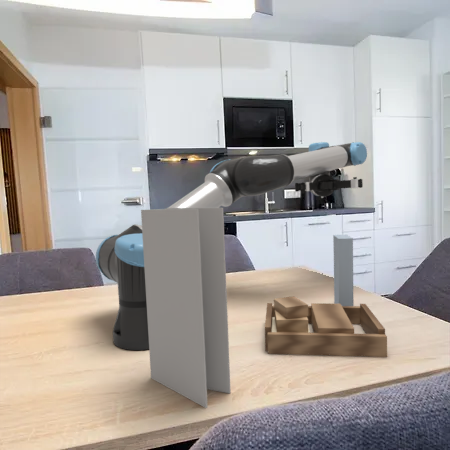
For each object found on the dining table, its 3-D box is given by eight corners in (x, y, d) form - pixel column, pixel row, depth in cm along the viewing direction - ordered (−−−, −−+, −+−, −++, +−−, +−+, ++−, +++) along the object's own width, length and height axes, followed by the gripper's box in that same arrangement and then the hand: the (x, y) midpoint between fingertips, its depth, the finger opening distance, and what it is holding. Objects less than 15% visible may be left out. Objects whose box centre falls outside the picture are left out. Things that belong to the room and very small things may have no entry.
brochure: (231, 392, 58) (223, 207, 55) (206, 408, 54) (197, 209, 51) (175, 366, 68) (166, 208, 65) (151, 378, 64) (140, 209, 61)
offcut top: (286, 319, 75) (286, 307, 75) (274, 309, 82) (273, 298, 82) (308, 316, 76) (308, 304, 76) (294, 306, 83) (294, 296, 83)
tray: (265, 353, 71) (264, 329, 71) (268, 321, 90) (267, 301, 89) (387, 357, 68) (387, 331, 68) (364, 322, 86) (364, 302, 86)
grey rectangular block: (339, 316, 91) (338, 238, 89) (334, 307, 99) (333, 234, 97) (353, 317, 90) (352, 238, 88) (347, 307, 98) (346, 234, 96)
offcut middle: (276, 333, 75) (276, 319, 75) (274, 319, 84) (274, 306, 84) (308, 333, 75) (308, 319, 74) (302, 318, 83) (302, 306, 83)
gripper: (360, 194, 123) (377, 195, 102) (287, 198, 126) (288, 200, 106) (360, 172, 122) (377, 168, 101) (286, 177, 126) (287, 175, 105)
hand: (332, 185), depth 103 cm, fingers open, 13 cm apart
